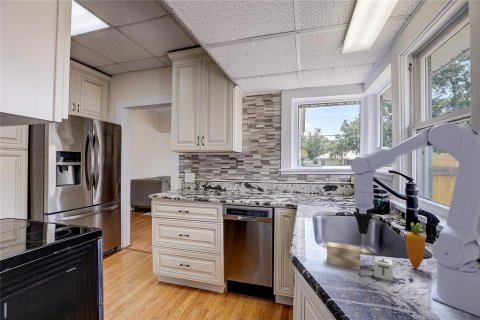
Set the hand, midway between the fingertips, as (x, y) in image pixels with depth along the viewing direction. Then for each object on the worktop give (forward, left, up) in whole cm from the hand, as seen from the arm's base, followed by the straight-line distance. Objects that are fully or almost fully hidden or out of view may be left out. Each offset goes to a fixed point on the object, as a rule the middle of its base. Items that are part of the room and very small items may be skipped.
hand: (363, 230), depth 77 cm
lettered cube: (-8, +6, -11) cm, 15 cm away
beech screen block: (+3, +8, -11) cm, 14 cm away
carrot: (-13, -7, -11) cm, 18 cm away
